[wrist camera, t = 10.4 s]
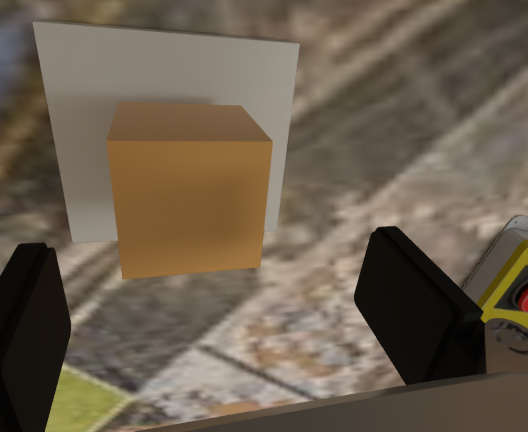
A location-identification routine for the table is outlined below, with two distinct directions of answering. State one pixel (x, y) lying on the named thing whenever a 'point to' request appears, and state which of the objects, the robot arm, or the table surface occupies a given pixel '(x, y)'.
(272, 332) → the table surface
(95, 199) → the board
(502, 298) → the emergency button
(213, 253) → the tan wooden cube
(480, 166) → the table surface
